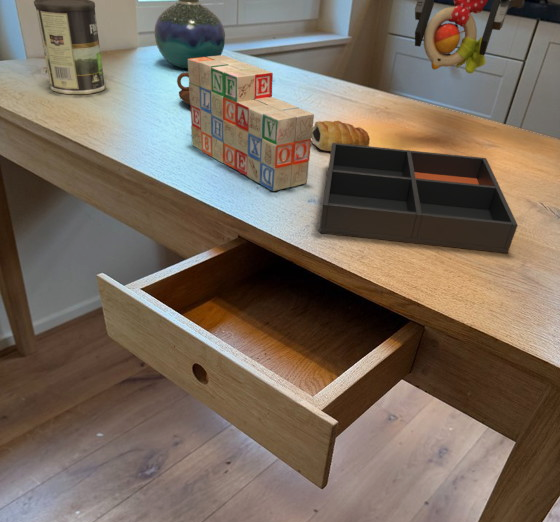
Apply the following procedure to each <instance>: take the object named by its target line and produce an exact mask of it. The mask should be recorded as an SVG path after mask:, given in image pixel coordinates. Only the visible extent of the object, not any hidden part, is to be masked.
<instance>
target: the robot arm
mask: <svg viewBox="0 0 560 522" xmlns="http://www.w3.org/2000/svg"><path fill="white" fill-rule="evenodd" d="M524 4H525V0H493V1H492V5H491V8H490V12H489V15H488V17H487V18H488V19H487V21H486V25H485V27H484V30H483V34H482V36H481V37H482V40H481V45H480V52H479V55H484V56H485V55H486V52H487V49H488V46H489V43H490V39H491V36H492V33H493V30H496V31H500V30H501V29H502V28H503V26H504V22H505V19H506V16H507V13H508V10H509V9H511V8H516V9H520V8H522V7H523V6H524ZM434 6H435V0H417V1H416V4H415V7H414V18H415V21H417V24H416V27H415V29H414V30H415V31H414V46H415V47H421V45H422V43H423V39H424V33H425V29H426V27H427V25H428V23H429V21H430V17H431V15H432V11H433V9H434Z"/></svg>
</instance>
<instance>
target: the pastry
mask: <svg viewBox="0 0 560 522" xmlns="http://www.w3.org/2000/svg"><path fill="white" fill-rule="evenodd" d="M370 140H371V139H370V136H369V133H368V131H366V130H365V129H364V128H362V127H361V126H357V127H355V126H354V125H353V124H350V123H346V122H342V121H340V120H334V121H331V120H323V121H319V120H318V121H315V123H314V124H313V131H312V138H311V143H312V144H313V145H314V146H316V147H317V148H318V149H319V150H321V151H325V152H331V147H332V143H340V144H350V145H360V146H370Z"/></svg>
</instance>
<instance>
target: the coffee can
mask: <svg viewBox="0 0 560 522" xmlns="http://www.w3.org/2000/svg"><path fill="white" fill-rule="evenodd" d="M33 5H34V7H35V11H36V18H37V23H38V27H39V32H40V38H41V43H42V49H43V53H44V57H45V58H44V59H45V64H46V70H47V75H48V79H49V88H50V90H51V91H52V92H55V93H58V94H59V93H60V94H65V95H91V94H96V93H100V92H102V91H104V90H105V89H106V84H105V77H104V71H103V70H104V69H103V62H102V54H101V53H102V52H101V49H100V48H101V46H100V39H99V31H98V30H99V29H98V22H97V16H96V3H95V1H93V0H33Z"/></svg>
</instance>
